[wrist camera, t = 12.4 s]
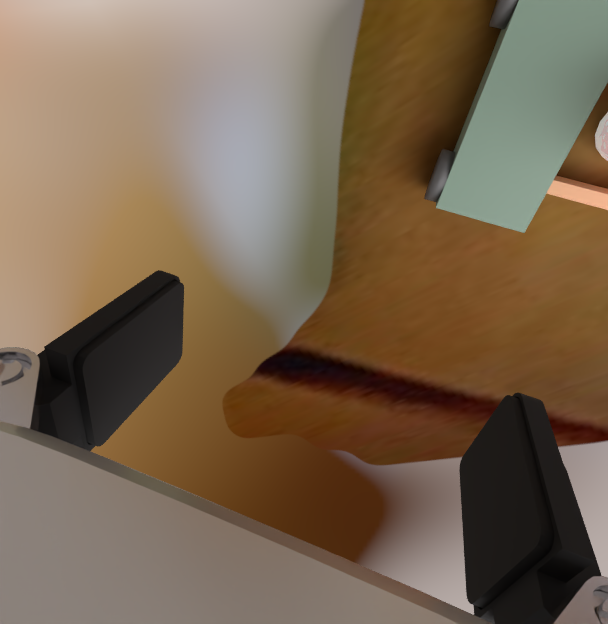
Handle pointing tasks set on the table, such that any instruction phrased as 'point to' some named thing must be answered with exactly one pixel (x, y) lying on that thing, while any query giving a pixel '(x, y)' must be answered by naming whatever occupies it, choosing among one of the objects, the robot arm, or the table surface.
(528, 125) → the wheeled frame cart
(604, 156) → the beverage cup
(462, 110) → the table surface
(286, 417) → the table surface
